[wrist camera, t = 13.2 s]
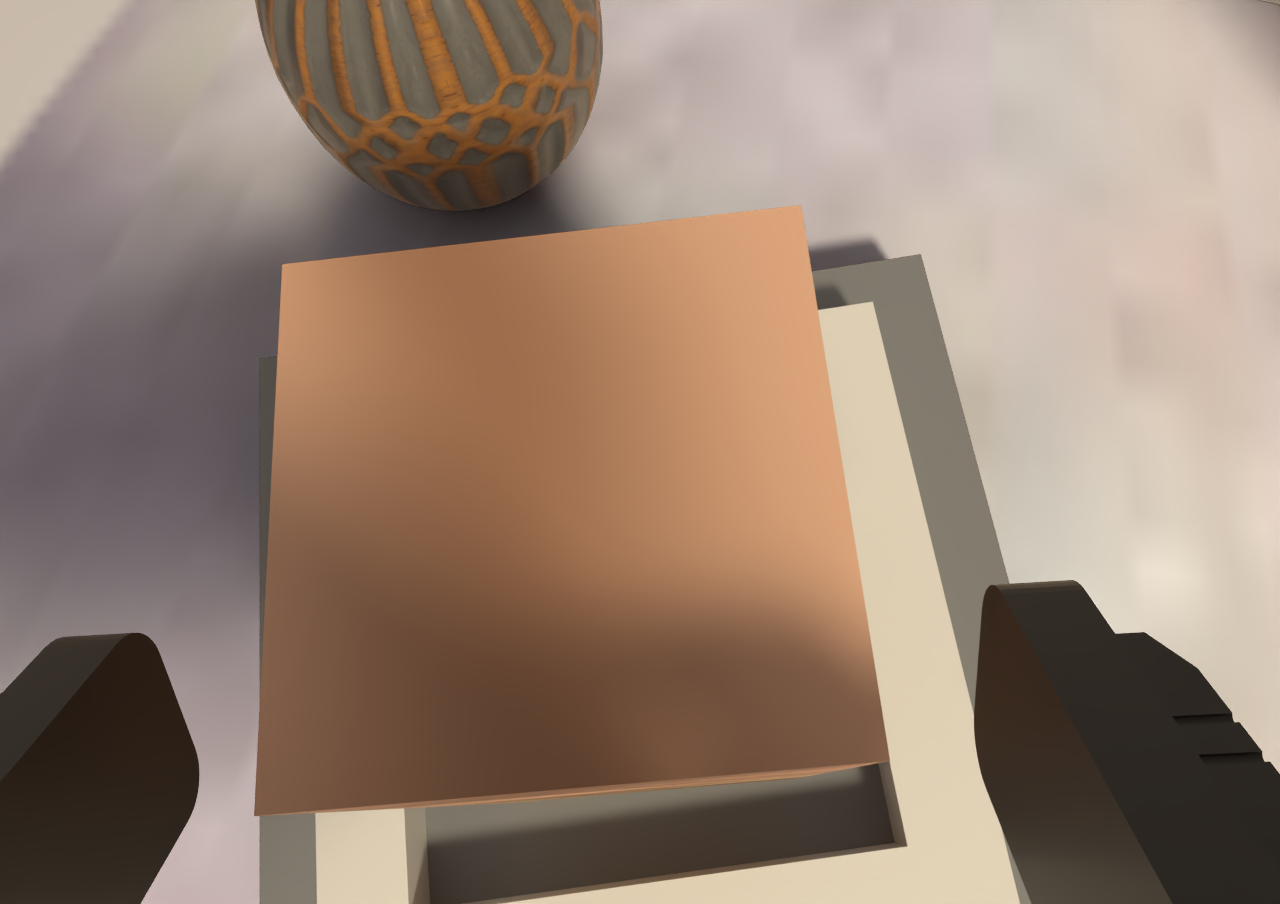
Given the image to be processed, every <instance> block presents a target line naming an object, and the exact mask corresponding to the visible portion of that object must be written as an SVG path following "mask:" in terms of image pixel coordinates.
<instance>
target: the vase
mask: <svg viewBox="0 0 1280 904" xmlns="http://www.w3.org/2000/svg"><path fill="white" fill-rule="evenodd" d="M255 3H256V8H257V13H258V18H259V23H260V28H261V31H262V35H263V39H264V42H265V45H266V49H267V52H268V55H269V58H270V60H271V63H272V65H273V68H274V70H275V73H276V75H277V77H278V79H279V81H280V83H281V85H282V87H283V89H284V90H285V92H286V94H287V96H288V98H289V99H290V101H291V103H292V105H293V106H294V108H295V109H296V111H297V112H298V114H299V115H300V116H301V118H302V119H303V121H304V122H305V124H306V125H307V127H308V128H309V129H310V131H311V132H312V133H313V134H314V136H315V137H316V138H317V139H318V141H319V142H320V143H321V144H322V145H323V147H324V148H325V149H326V150H327V151H328V152H329V153H330V154H331V155H332V156H333V157H334V158H335V159H337V160H338V161H339V162H340V163H341V164H342V165H343V166H344V167H345V168H347V169H348V170H349V171H350V172H352V173H353V174H354V175H356V176H357V177H359V178H360V179H362V180H363V181H365V182H366V183H368V184H369V185H370V186H372V187H373V188H375V189H377V190H379V191H381V192H382V193H385V194H387V195H389V196H391V197H394V198H396V199H398V200H400V201H403V202H405V203H408V204H411V205H415V206H418V207H423V208H428V209H435V210H449V211H450V210H473V209H480V208H485V207H490V206H494V205H497V204H500V203H503V202H506V201H508V200H510V199H513V198H515V197H517V196H519V195H521V194H523V193H525V192H526V191H528V190H530V189H531V188H533V187H534V186H536V185H537V184H538V183H540V182H541V181H542V180H544V179H545V178H546V177H547V176H548V175H550V174H551V173H552V172H553V171H554V170H555V169H556V168H557V167H558V166H559V165H560V164H561V163H562V162H563V161H564V160H565V159H566V157H567V156H568V155H569V153H570V152H571V151H572V149H573V148H574V146H575V145H576V143H577V141H578V139H579V137H580V135H581V133H582V131H583V129H584V127H585V125H586V123H587V121H588V119H589V116H590V113H591V110H592V107H593V104H594V100H595V97H596V93H597V89H598V85H599V79H600V72H601V65H602V55H603V38H602V18H601V9H600V1H599V0H255Z"/></svg>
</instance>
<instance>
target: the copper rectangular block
mask: <svg viewBox="0 0 1280 904" xmlns="http://www.w3.org/2000/svg"><path fill="white" fill-rule="evenodd" d="M887 761H890V757H889V750H888V744H887V738H886V732H885V725H884V719H883V713H882V707H881V701H880V694H879V688H878V682H877V676H876V669H875V663H874V657H873V651H872V644H871V638H870V632H869V626H868V619H867V613H866V607H865V601H864V595H863V588H862V582H861V576H860V570H859V563H858V557H857V551H856V545H855V538H854V532H853V526H852V520H851V514H850V507H849V501H848V495H847V489H846V482H845V476H844V470H843V464H842V457H841V451H840V445H839V439H838V432H837V426H836V420H835V414H834V408H833V401H832V395H831V389H830V383H829V376H828V370H827V364H826V358H825V351H824V345H823V339H822V333H821V326H820V320H819V314H818V308H817V302H816V295H815V289H814V283H813V277H812V270H811V264H810V258H809V252H808V245H807V239H806V233H805V227H804V221H803V214H802V208H801V205H798V206H789V207H781V208H772V209H763V210H754V211H746V212H737V213H728V214H719V215H711V216H702V217H693V218H684V219H675V220H667V221H658V222H649V223H640V224H632V225H623V226H614V227H605V228H597V229H588V230H579V231H570V232H561V233H553V234H544V235H535V236H526V237H518V238H509V239H500V240H491V241H483V242H474V243H465V244H456V245H447V246H439V247H430V248H421V249H412V250H404V251H395V252H386V253H377V254H368V255H360V256H351V257H342V258H333V259H325V260H316V261H307V262H298V263H290V264H282V278H281V298H280V318H279V337H278V357H277V377H276V397H275V416H274V436H273V456H272V475H271V495H270V515H269V535H268V554H267V574H266V594H265V614H264V633H263V653H262V673H261V692H260V712H259V732H258V752H257V771H256V791H255V811H254V816H265V815H285V814H305V813H324V812H344V811H364V810H383V809H403V808H423V807H442V806H462V805H482V804H501V803H517V802H529V801H540V800H552V799H564V798H575V797H587V796H598V795H610V794H622V793H633V792H645V791H656V790H668V789H680V788H691V787H703V786H714V785H726V784H738V783H749V782H761V781H772V780H784V779H796V778H801V777H806V776H812V775H817V774H823V773H828V772H833V771H839V770H844V769H850V768H855V767H860V766H866V765H871V764H877V763H882V762H887Z"/></svg>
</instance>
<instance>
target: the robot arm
mask: <svg viewBox="0 0 1280 904" xmlns="http://www.w3.org/2000/svg"><path fill="white" fill-rule="evenodd" d="M974 736H975V745H976V752H977V758H978V763H979V767H980V771H981V775H982V778H983V782H984V784H985V787H986V790H987V792H988V795H989V798H990V800H991V803H992V805H993V808H994V810H995V813H996V815H997V818H998V820H999V823H1000V825H1001V828H1002V830H1003V833H1004V835H1005V838H1006V841H1007V843H1008V846H1009V848H1010V851H1011V853H1012V856H1013V858H1014V861H1015V863H1016V866H1017V868H1018V871H1019V873H1020V876H1021V878H1022V881H1023V884H1024V886H1025V889H1026V891H1027V894H1028V896H1029V899H1030V901H1031V904H1280V774H1279V773H1278V771H1277V770H1276V769H1275V767H1274V766H1273V765H1272V764H1271V762H1264V760H1263V757H1262V751H1261V749H1260V748H1259V747H1258V746H1257V744H1256V743H1255V742H1254V740H1253V739H1252V738H1251V737H1250V735H1249V734H1248V733H1247V731H1246V730H1245V729H1244V728H1243V726H1242V725H1241V724H1240V722H1236V723H1234V721H1233V718H1232V712H1231V711H1230V709H1229V708H1228V707H1227V706H1226V704H1225V703H1224V702H1223V700H1222V699H1221V698H1220V697H1219V695H1218V694H1217V693H1216V691H1215V690H1214V689H1213V688H1212V686H1211V685H1210V684H1209V682H1208V681H1207V680H1206V679H1205V677H1204V676H1203V675H1202V673H1201V672H1200V671H1199V670H1198V668H1196V667H1195V666H1193V665H1192V664H1190V663H1189V662H1187V661H1186V660H1185V659H1183V658H1182V657H1180V656H1179V655H1177V654H1176V653H1174V652H1173V651H1171V650H1170V649H1168V648H1167V647H1165V646H1164V645H1162V644H1161V643H1159V642H1158V641H1156V640H1155V639H1153V638H1152V637H1151V636H1149V635H1148V634H1146V633H1145V632H1141V633H1123V634H1115V633H1114V632H1113V630H1112V629H1111V627H1110V626H1109V624H1108V623H1107V621H1106V620H1105V619H1104V617H1103V616H1102V614H1101V613H1100V611H1099V610H1098V608H1097V607H1096V605H1095V604H1094V603H1093V601H1092V600H1091V598H1090V597H1089V595H1088V594H1087V592H1086V591H1085V590H1084V588H1083V587H1082V586H1081V585H1080V584H1079V583H1078V582H1076V581H1074V580H1067V581H1050V582H1033V583H1016V584H999V585H990V586H989V587H988V588H987V589H986V591H985V594H984V598H983V604H982V614H981V627H980V641H979V654H978V667H977V680H976V693H975V706H974ZM198 787H199V762H198V757H197V753H196V750H195V747H194V744H193V741H192V739H191V736H190V733H189V731H188V728H187V725H186V723H185V720H184V717H183V715H182V712H181V709H180V707H179V704H178V701H177V698H176V696H175V693H174V690H173V688H172V685H171V682H170V680H169V677H168V674H167V672H166V669H165V666H164V664H163V661H162V658H161V656H160V653H159V651H158V649H157V647H156V645H155V644H154V642H153V641H152V640H151V639H150V638H149V637H148V636H146V635H144V634H141V633H125V634H108V635H91V636H74V637H62V638H59V639H56V640H54V641H53V642H51V643H50V644H49V645H48V646H46V647H45V648H44V649H43V650H42V651H41V653H40V654H39V655H38V656H37V657H36V658H35V659H34V660H33V661H32V662H31V663H30V664H29V665H28V666H27V667H26V668H25V669H24V670H23V672H22V673H21V674H20V675H19V676H18V677H17V678H16V679H15V680H14V681H13V682H12V683H11V684H10V685H9V686H8V687H7V688H6V690H5V691H4V692H3V693H1V694H0V904H141V902H142V900H143V898H144V897H145V895H146V893H147V891H148V890H149V888H150V886H151V884H152V883H153V881H154V879H155V878H156V876H157V874H158V872H159V871H160V869H161V867H162V865H163V864H164V862H165V860H166V858H167V857H168V855H169V853H170V852H171V850H172V848H173V846H174V845H175V843H176V841H177V839H178V838H179V836H180V834H181V832H182V831H183V829H184V827H185V826H186V824H187V822H188V820H189V818H190V816H191V814H192V811H193V809H194V806H195V802H196V798H197V793H198Z"/></svg>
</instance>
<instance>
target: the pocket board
mask: <svg viewBox="0 0 1280 904" xmlns="http://www.w3.org/2000/svg"><path fill="white" fill-rule="evenodd" d="M812 277H813V283H814V289H815V295H816V302H817V308H818V314H819V320H820V326H821V333H822V339H823V345H824V351H825V358H826V364H827V370H828V376H829V383H830V389H831V395H832V401H833V408H834V414H835V420H836V426H837V432H838V439H839V445H840V451H841V457H842V464H843V470H844V476H845V482H846V489H847V495H848V501H849V507H850V514H851V520H852V526H853V532H854V538H855V545H856V551H857V557H858V563H859V570H860V576H861V582H862V588H863V595H864V601H865V607H866V613H867V619H868V626H869V632H870V638H871V644H872V651H873V657H874V663H875V669H876V676H877V682H878V688H879V694H880V701H881V707H882V713H883V719H884V725H885V732H886V738H887V744H888V750H889V757H890V761H887V762H882V763H877V764H871V765H866V766H860V767H855V768H850V769H844V770H839V771H833V772H828V773H823V774H817V775H812V776H806V777H801V778H796V779H784V780H772V781H761V782H749V783H738V784H726V785H714V786H703V787H691V788H680V789H668V790H656V791H645V792H633V793H622V794H610V795H598V796H587V797H575V798H564V799H552V800H540V801H529V802H517V803H501V804H482V805H462V806H442V807H423V808H403V809H383V810H364V811H344V812H324V813H305V814H285V815H265V816H260V904H1031V901H1030V899H1029V896H1028V894H1027V891H1026V889H1025V886H1024V884H1023V881H1022V878H1021V876H1020V873H1019V871H1018V868H1017V866H1016V863H1015V861H1014V858H1013V856H1012V853H1011V851H1010V848H1009V846H1008V843H1007V841H1006V838H1005V835H1004V833H1003V830H1002V828H1001V825H1000V823H999V820H998V818H997V815H996V813H995V810H994V808H993V805H992V803H991V800H990V798H989V795H988V792H987V790H986V787H985V784H984V782H983V778H982V775H981V771H980V767H979V763H978V758H977V752H976V745H975V736H974V706H975V693H976V680H977V667H978V654H979V641H980V627H981V614H982V604H983V598H984V594H985V591H986V589H987V588H988V587H989V586H990V585H999V584H1009V581H1008V577H1007V573H1006V569H1005V566H1004V562H1003V558H1002V555H1001V551H1000V547H999V543H998V540H997V536H996V532H995V528H994V525H993V521H992V517H991V514H990V510H989V506H988V502H987V499H986V495H985V491H984V488H983V484H982V480H981V476H980V473H979V469H978V465H977V462H976V458H975V454H974V450H973V447H972V443H971V439H970V435H969V432H968V428H967V424H966V421H965V417H964V413H963V409H962V406H961V402H960V398H959V395H958V391H957V387H956V383H955V380H954V376H953V372H952V369H951V365H950V361H949V357H948V354H947V350H946V346H945V343H944V339H943V335H942V331H941V328H940V324H939V320H938V316H937V313H936V309H935V305H934V302H933V298H932V294H931V290H930V287H929V283H928V279H927V276H926V272H925V268H924V264H923V261H922V257H921V254H919V255H913V256H906V257H900V258H894V259H887V260H881V261H875V262H868V263H862V264H856V265H849V266H843V267H837V268H831V269H824V270H818V271H812ZM277 357H278V356H275V357H269V358H262V359H260V692H261V673H262V653H263V633H264V614H265V594H266V574H267V554H268V535H269V515H270V495H271V475H272V456H273V436H274V416H275V397H276V377H277Z"/></svg>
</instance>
